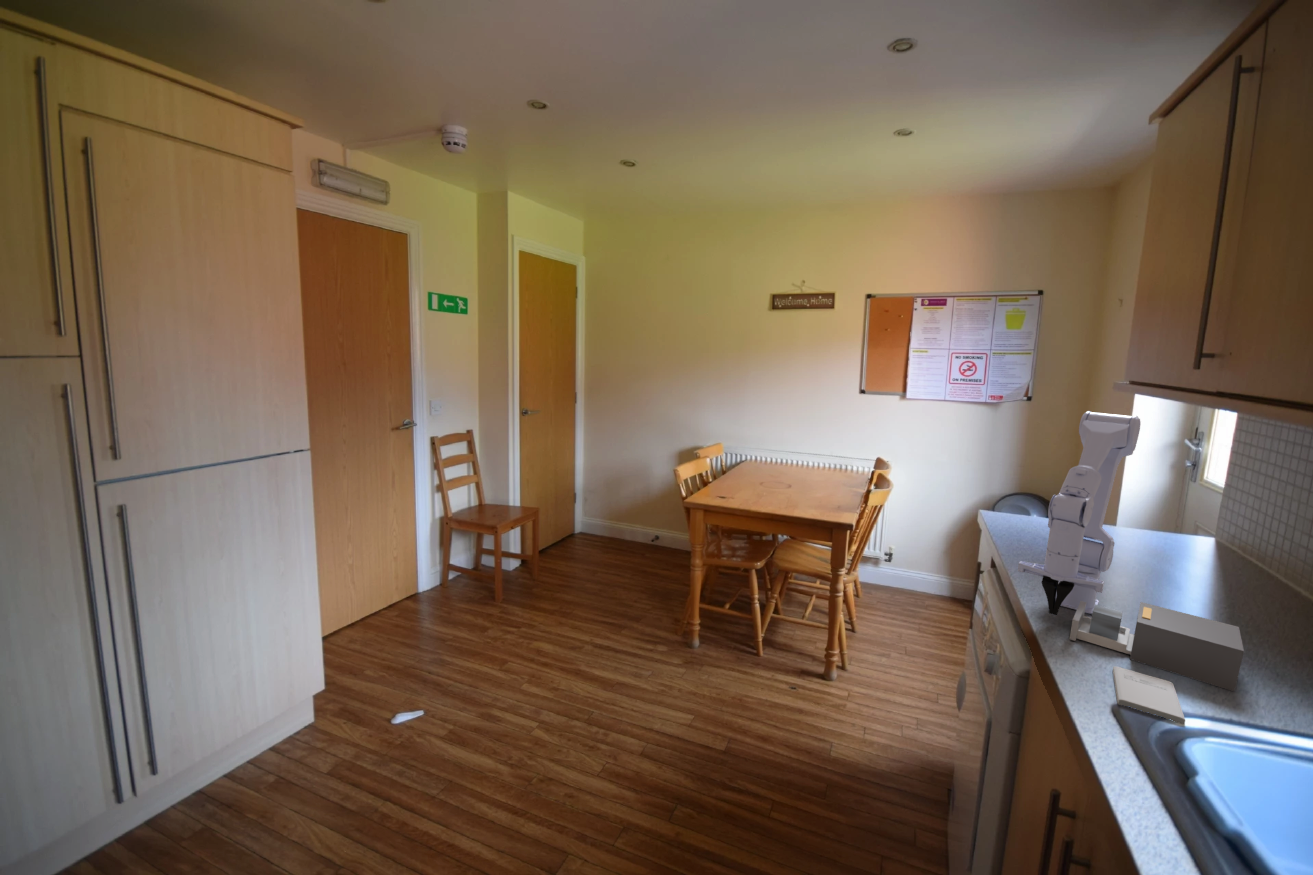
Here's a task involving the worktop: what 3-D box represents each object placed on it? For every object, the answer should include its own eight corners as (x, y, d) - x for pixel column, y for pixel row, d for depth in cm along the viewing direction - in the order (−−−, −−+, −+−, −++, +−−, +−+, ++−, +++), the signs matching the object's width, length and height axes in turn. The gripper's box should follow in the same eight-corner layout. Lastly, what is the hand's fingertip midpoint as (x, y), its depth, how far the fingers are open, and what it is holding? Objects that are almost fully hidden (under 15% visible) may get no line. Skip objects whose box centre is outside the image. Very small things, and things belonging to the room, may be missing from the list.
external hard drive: (1116, 707, 93) (1112, 672, 103) (1183, 728, 88) (1172, 690, 98) (1118, 698, 93) (1113, 664, 103) (1185, 718, 88) (1173, 681, 98)
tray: (1077, 619, 122) (1080, 600, 121) (1162, 643, 113) (1166, 623, 112) (1069, 639, 113) (1072, 619, 112) (1160, 667, 104) (1164, 645, 103)
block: (1091, 626, 117) (1095, 604, 116) (1118, 634, 114) (1122, 611, 113) (1088, 634, 114) (1092, 611, 113) (1116, 642, 111) (1121, 618, 110)
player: (1133, 636, 116) (1140, 600, 114) (1230, 664, 106) (1239, 625, 105) (1129, 659, 107) (1137, 620, 105) (1234, 691, 97) (1244, 649, 96)
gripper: (1018, 546, 119) (1009, 607, 121) (1105, 567, 109) (1093, 632, 112) (1025, 539, 124) (1016, 597, 127) (1109, 557, 115) (1097, 620, 117)
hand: (1053, 612), depth 119 cm, fingers closed
